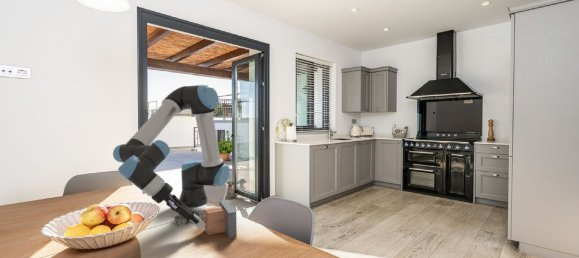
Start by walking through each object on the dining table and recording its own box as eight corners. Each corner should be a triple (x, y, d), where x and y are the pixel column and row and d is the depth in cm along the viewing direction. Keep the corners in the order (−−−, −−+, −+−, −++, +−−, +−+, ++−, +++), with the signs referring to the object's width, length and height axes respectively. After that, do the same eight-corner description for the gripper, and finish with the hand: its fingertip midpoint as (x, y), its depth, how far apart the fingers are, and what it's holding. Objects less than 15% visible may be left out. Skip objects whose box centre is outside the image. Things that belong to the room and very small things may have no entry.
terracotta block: (204, 229, 114) (204, 208, 114) (221, 226, 118) (221, 206, 117) (208, 235, 109) (207, 213, 109) (225, 231, 112) (224, 210, 112)
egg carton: (180, 226, 119) (180, 217, 118) (171, 222, 123) (171, 213, 123) (202, 219, 127) (201, 210, 127) (193, 215, 132) (192, 207, 131)
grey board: (219, 222, 122) (219, 200, 122) (226, 221, 124) (226, 199, 123) (229, 238, 106) (228, 212, 106) (236, 236, 107) (236, 211, 107)
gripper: (150, 192, 108) (194, 228, 115) (149, 201, 96) (198, 240, 103) (165, 178, 110) (207, 214, 117) (166, 185, 98) (213, 224, 105)
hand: (203, 226), depth 110 cm, fingers closed
